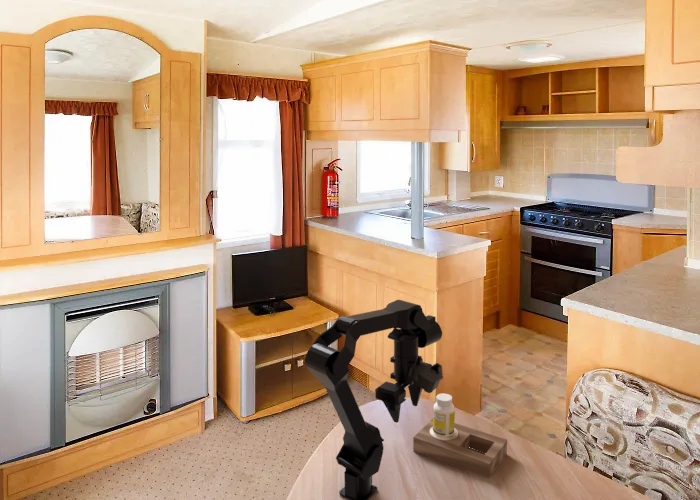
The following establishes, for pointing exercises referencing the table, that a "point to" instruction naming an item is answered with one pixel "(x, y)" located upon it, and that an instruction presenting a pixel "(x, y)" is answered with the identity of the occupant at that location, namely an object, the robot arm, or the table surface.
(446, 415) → the supplement bottle
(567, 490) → the table surface
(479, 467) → the pocket block
